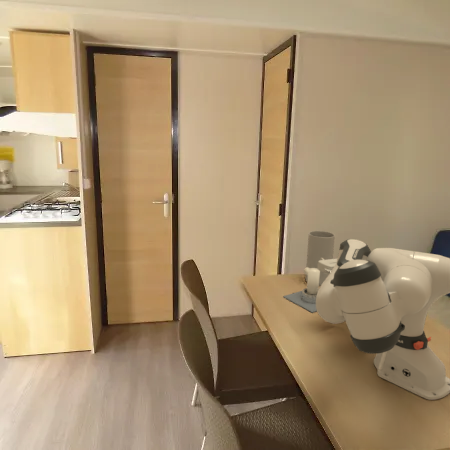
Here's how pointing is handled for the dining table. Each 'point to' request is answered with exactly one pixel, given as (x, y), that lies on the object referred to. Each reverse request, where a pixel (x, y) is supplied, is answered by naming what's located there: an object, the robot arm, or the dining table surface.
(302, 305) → the slate plate
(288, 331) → the dining table surface
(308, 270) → the cream peg
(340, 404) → the dining table surface
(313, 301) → the collar
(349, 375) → the dining table surface
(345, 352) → the dining table surface
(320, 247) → the cylinder vase
